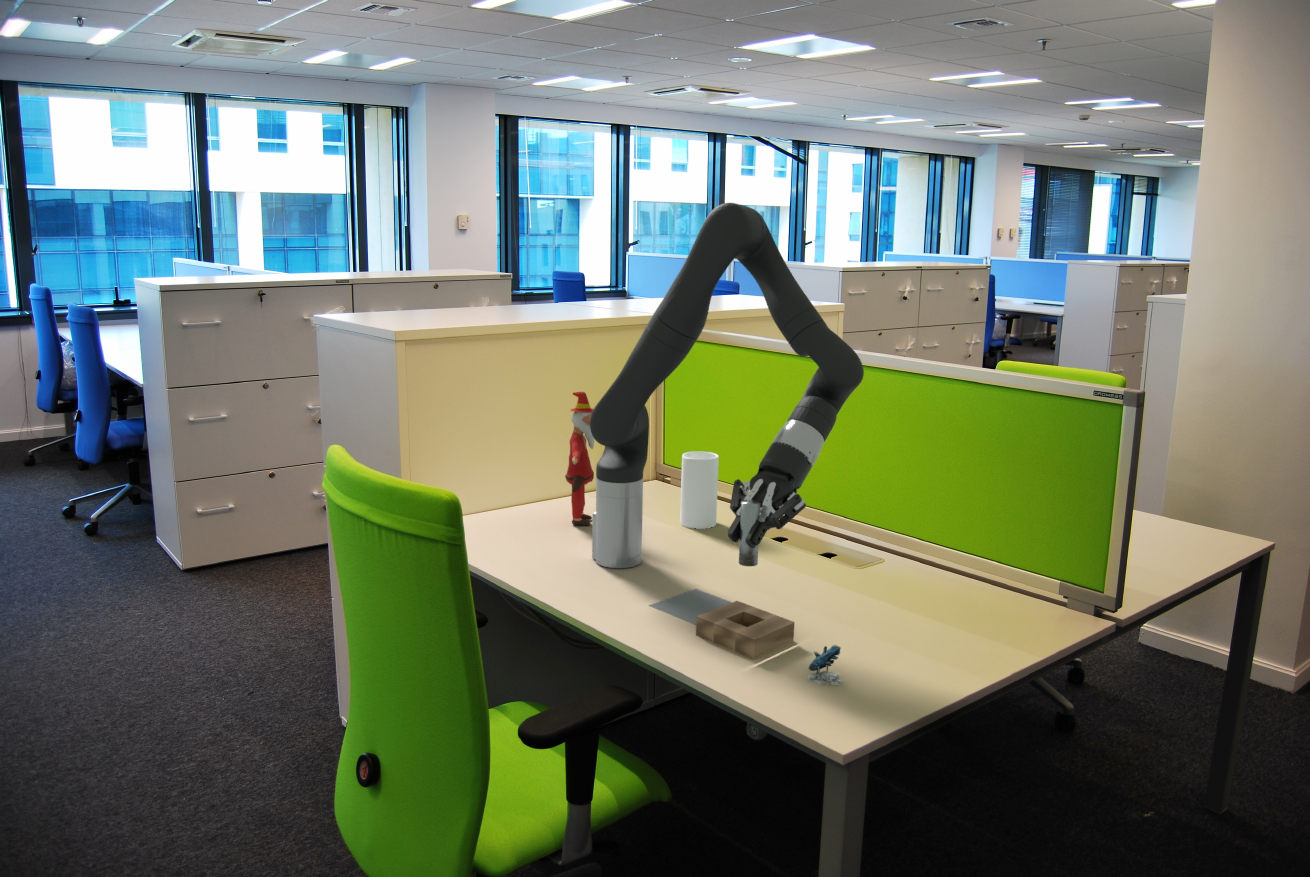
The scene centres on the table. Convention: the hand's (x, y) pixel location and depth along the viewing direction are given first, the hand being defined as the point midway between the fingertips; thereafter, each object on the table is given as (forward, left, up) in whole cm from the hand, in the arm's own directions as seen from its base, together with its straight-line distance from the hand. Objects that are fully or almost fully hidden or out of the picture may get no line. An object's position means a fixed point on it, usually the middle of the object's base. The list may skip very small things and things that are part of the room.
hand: (740, 541), depth 143 cm
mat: (-13, +6, -17) cm, 22 cm away
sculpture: (+17, 0, -18) cm, 24 cm away
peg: (0, +2, -4) cm, 5 cm away
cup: (-48, +43, -17) cm, 67 cm away
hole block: (0, +2, -17) cm, 17 cm away
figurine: (-66, +23, -17) cm, 72 cm away
